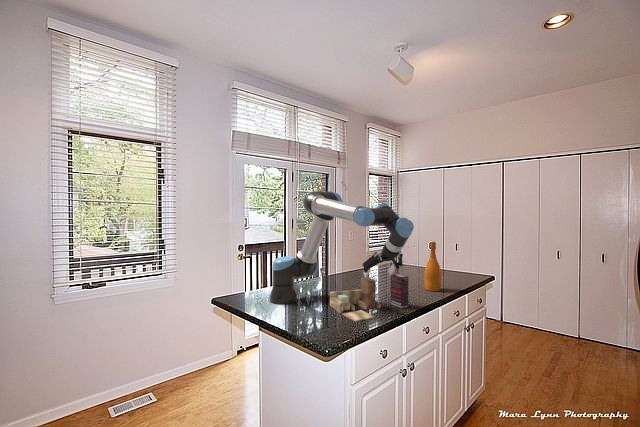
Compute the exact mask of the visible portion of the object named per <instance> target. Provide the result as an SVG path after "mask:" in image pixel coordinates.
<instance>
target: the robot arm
mask: <svg viewBox="0 0 640 427" xmlns="http://www.w3.org/2000/svg"><path fill="white" fill-rule="evenodd" d="M342 199H343V198H342V196H341V195H340V194H339V193H337V192H335V191H319V190H314V191H310V192H308V193H307V194H305V196H304V198H303V208H304V209H305V210H306V212H308V213H310V214H312V215H313V219H312V221H311V223H310V226H309V230H308V232H307V234H306V237H305V240H304V243H303V245H302V248H301V250H299V251H298V252H297V253H296V257H294V256H290V255H289V256H288V255H287V256H281V257H276V258H274V260H273V262H272V289H271V292H270V294H269V302H270V303H272V304H277V305H287V304H293V303H295V302H297V301H298V294H297V290H296V288H295V281H296V280H301V279H306V278H310V277H313V276H315V274H316V273H317V272H318V269H319V265H318V264H319V263H318V259H317V253H318V251H319V248H320V245H321V244H322V241H323V238H324V237H325V234H326V231H327V228H328V225H329V223H330V222H331V221H333V220H334V218H337V219H341V220H344V221H347V222H352V223H355V224H356V225H357V226H360V227H366V228H367V227H372V226H373V227H375V226H384V227H385V229H386V230H387V231H388V232H389V233H390V234H389V235H388V237H387V239H386V240H385V243H384V245H383V247H382V250H381V252H380V253H378V251H375V252H374V253H373V254H372V256H370V257H369V258H367V259H366V260H365V261H364V262H362V266H363V272H362V274H363V276H364V277H363V278H366V277H368V275H369V273H370V272H371V269H372V268H373V267H375V266H377V265H378V264H382V263H384V262H390V261H391V262H392V264H391V266H390V267H389V269H388V270H387V272H388V275H389V276H390V277H391V276H392V274H394V272H395V271H396V270H398V269H400V267H403V266H404V265H403V256H404V254H403V253H402V250H403V248H404V246H405V244H406V243H407V241H408V240H409V238H410V236H412V232H413V231H414V229H415V226H414V223H413V221H412V220H409V219H408V217H407V218H406V217H400V216H399V214H397V213H396V212H395V211H394V209H393V208H392V207H391V206H390V205H389V204H388V203H387V202H381V203H379V204H378V205H376V206H375V207H368V206H364V205H363V206H362V205H358V204H352V203H348V202H344V201H343V200H342ZM396 258H397V259H396Z"/></svg>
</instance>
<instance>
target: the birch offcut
mask: <svg viewBox="0 0 640 427" xmlns="http://www.w3.org/2000/svg"><path fill="white" fill-rule="evenodd" d="M350 310H351V309H350V303H344V304H343V312H344V311H345V312H346V311H350Z"/></svg>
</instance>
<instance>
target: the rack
mask: <svg viewBox="0 0 640 427" xmlns="http://www.w3.org/2000/svg"><path fill="white" fill-rule="evenodd" d="M338 295H346V296H348V297H349V303H350V310H351V312H354V311H355V310H356V308H355V307H356V306H355V305H357V306H359V307H360V308H362V309H363V310H364V311H365V310H366V311H367V310H368V309H367V304H365V303H364V302H362V301H361V288H360V289H351V290H349V289H347V290H337V291H330V292H329V306H330V307H331V308H333V309H334V310H335V311H336V312H337V313H339V314H342V313H344V311H343V302H341V301H340V300H338ZM375 308H378V309H381V302H379V301H378V300H375Z"/></svg>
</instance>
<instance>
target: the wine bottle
mask: <svg viewBox="0 0 640 427" xmlns="http://www.w3.org/2000/svg"><path fill="white" fill-rule="evenodd" d="M429 245H430V255H429V257H428V260H427V262H426V266H425V267H424V268H425V269H424V274H423V275H424V276H423V278H424V281H423V282H424V289H425V290H426V291H429V292H439V291H441V290H442V289H441V288H442V271H441V270H442V269H441V266H440V264H439V262H438V260H437V254H436V250H437V247H436V246H437V243H436V242H435V241H431V242H430V244H429Z"/></svg>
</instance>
